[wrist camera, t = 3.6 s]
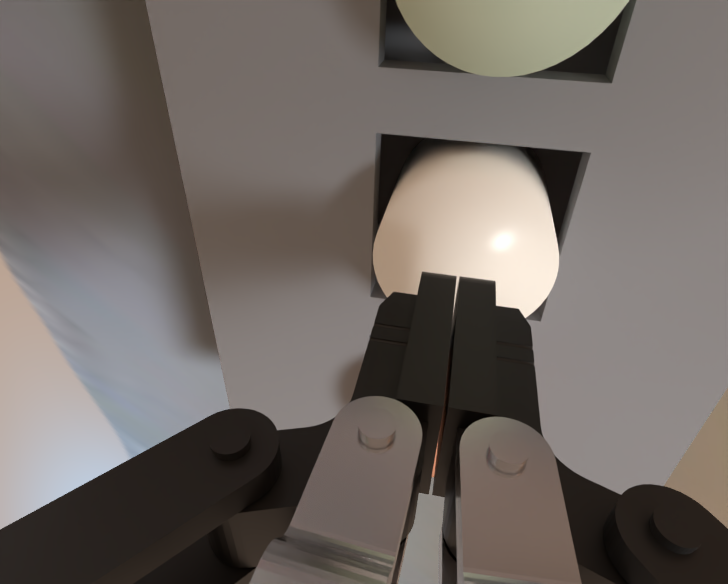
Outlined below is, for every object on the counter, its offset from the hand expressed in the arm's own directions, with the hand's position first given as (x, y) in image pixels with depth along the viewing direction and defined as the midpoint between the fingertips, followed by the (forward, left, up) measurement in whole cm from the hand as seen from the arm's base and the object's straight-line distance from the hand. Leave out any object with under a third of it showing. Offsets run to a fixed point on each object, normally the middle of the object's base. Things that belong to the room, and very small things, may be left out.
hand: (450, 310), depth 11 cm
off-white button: (0, 0, -6) cm, 6 cm away
